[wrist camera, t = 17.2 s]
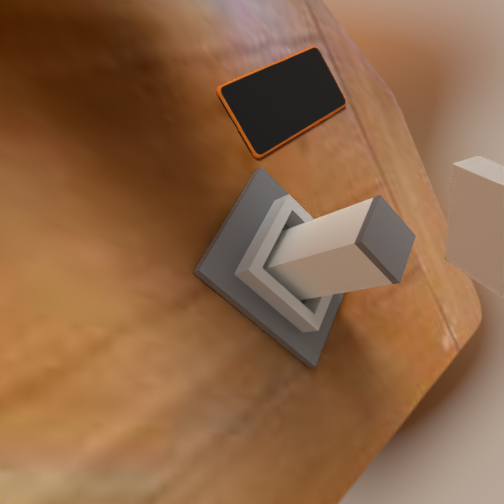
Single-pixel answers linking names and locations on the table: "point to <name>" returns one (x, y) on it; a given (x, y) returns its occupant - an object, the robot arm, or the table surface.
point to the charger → (342, 251)
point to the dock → (257, 279)
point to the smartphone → (281, 100)
